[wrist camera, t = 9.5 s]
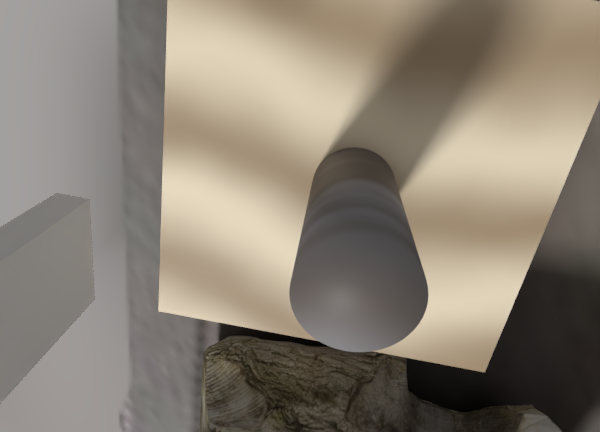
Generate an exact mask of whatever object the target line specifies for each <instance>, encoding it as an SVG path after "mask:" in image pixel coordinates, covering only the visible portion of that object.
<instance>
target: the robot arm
mask: <svg viewBox="0 0 600 432" xmlns="http://www.w3.org/2000/svg"><path fill="white" fill-rule="evenodd" d="M94 299H95V295H94V275H93V255H92V236H91V216H90V199H85V198H81V197H75V196H70V195H65V194H59V193H56V194H54V195H53V196H51V197H49V198H48V199H46V200H44V201H43V202H41V203H39V204H38V205H36V206H35V207H33V208H31V209H30V210H28V211H26V212H25V213H23V214H21V215H20V216H18V217H17V218H15V219H13V220H11V221H10V222H8V223H6V224H5V225H3V226H1V227H0V404H1V402H2V401H3V400H4V399H5V398H6V397H7V396H8V395H9V394H10V392H11V391H12V390H13V389H14V388H15V387H16V386H17V385H18V384H19V382H20V381H21V380H22V379H23V378H24V377H25V376H26V375H27V374H28V373H29V371H30V370H31V369H32V368H33V367H34V366H35V365H36V364H37V363H38V361H39V360H40V359H41V358H42V357H43V356H44V355H45V354H46V352H47V351H48V350H49V349H50V348H51V347H52V346H53V345H54V344H55V342H56V341H57V340H58V339H59V338H60V337H61V336H62V335H63V334H64V333H65V331H66V330H67V329H68V328H69V327H70V326H71V325H72V324H73V322H74V321H75V320H76V319H77V318H78V317H79V316H80V315H81V314H82V312H84V310H85V309H86V308H87V307H88V306H89V305H90V304H91V303H92V302H93V301H94Z"/></svg>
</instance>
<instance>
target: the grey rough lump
mask: <svg viewBox="0 0 600 432" xmlns="http://www.w3.org/2000/svg"><path fill="white" fill-rule="evenodd" d="M200 432H562V431H561V430H560V428H559V427H558V426H557V425H556V424H555V423H554V422H553V421H552V420H551V419H550V418H549V416H547V415H545V414H544V413H542V412H540V411H538V410H537V409H536V408H535V407H534V406H533V405H518V406H510V405H506V406H492V407H486V408H482V409H478V410H475V411H471V412H457V411H453V410H450V409H446V408H443V407H440V406H438V405H436V404H434V403H431V402H429V401H425V400H421V399H419V398H418V397H416V396H415V395H414V394H413V393H411V392H410V391H409V390H408V383H407V358H405V357H400V356H394V355H389V354H384V353H378V352H373V351H371V352H349V351H343V350H339V349H335V348H330V347H314V346H306V345H302V344H298V343H293V342H287V341H272V340H262V339H259V338H257V337H252V336H228V337H227V338H225V339H223V340H221V341H220V342H218V343H216V344H214V345H212V346H209V347H208V349H207V350H206V351H205V352H204V354H203V365H202V399H201V414H200Z"/></svg>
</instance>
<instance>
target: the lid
mask: <svg viewBox="0 0 600 432" xmlns="http://www.w3.org/2000/svg"><path fill="white" fill-rule="evenodd" d="M599 100H600V1H595V0H168V5H167V39H166V73H165V107H164V141H163V175H162V209H161V243H160V277H159V311H160V312H166V313H171V314H176V315H182V316H187V317H192V318H197V319H203V320H208V321H213V322H219V323H224V324H229V325H235V326H240V327H245V328H251V329H256V330H261V331H267V332H272V333H277V334H283V335H288V336H293V337H299V338H304V339H309V340H315V341H319V342H321V343H323V344H325V345H327V346H330V347H332V348H335V349H339V350H343V351H349V352H371V351H373V352H378V353H384V354H389V355H394V356H400V357H405V358H410V359H416V360H421V361H426V362H432V363H437V364H442V365H448V366H453V367H458V368H463V369H469V370H474V371H479V372H485V371H486V368H487V366H488V364H489V361H490V359H491V357H492V354H493V352H494V349H495V347H496V345H497V342H498V340H499V338H500V335H501V333H502V330H503V328H504V326H505V323H506V321H507V319H508V316H509V314H510V311H511V309H512V307H513V304H514V302H515V300H516V297H517V295H518V292H519V290H520V288H521V285H522V283H523V281H524V278H525V276H526V273H527V271H528V269H529V266H530V264H531V262H532V259H533V257H534V254H535V252H536V250H537V247H538V245H539V243H540V240H541V238H542V235H543V233H544V231H545V228H546V226H547V223H548V221H549V219H550V216H551V214H552V212H553V209H554V207H555V204H556V202H557V200H558V197H559V195H560V193H561V190H562V188H563V185H564V183H565V181H566V178H567V176H568V174H569V171H570V169H571V166H572V164H573V162H574V159H575V157H576V155H577V152H578V150H579V147H580V145H581V143H582V140H583V138H584V136H585V133H586V131H587V128H588V126H589V124H590V121H591V119H592V117H593V114H594V112H595V109H596V107H597V105H598V102H599Z"/></svg>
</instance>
